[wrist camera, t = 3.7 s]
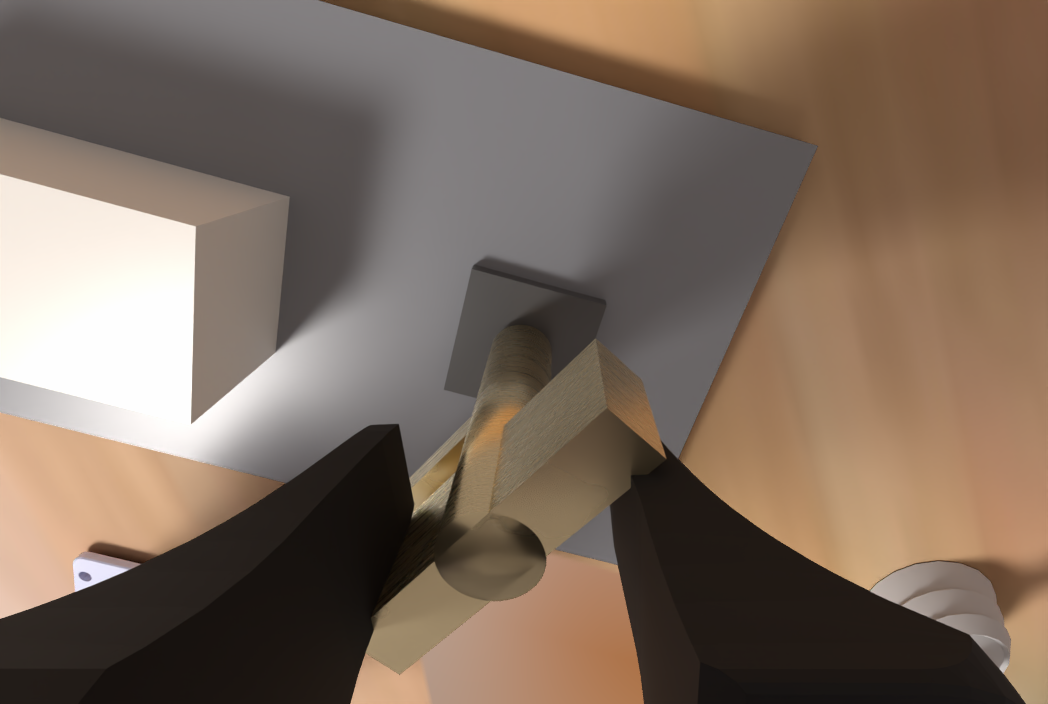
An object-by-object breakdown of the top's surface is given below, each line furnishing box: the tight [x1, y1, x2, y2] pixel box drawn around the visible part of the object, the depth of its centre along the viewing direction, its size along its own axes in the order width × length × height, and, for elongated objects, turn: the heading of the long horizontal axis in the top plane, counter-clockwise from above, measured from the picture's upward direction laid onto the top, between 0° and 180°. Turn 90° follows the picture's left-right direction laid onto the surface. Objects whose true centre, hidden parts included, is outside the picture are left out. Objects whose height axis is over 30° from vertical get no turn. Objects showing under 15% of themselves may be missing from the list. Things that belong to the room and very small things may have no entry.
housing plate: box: [0, 0, 818, 565], centre depth 17 cm, size 15×24×2 cm, turn 75°
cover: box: [0, 118, 290, 425], centre depth 15 cm, size 5×10×4 cm, turn 75°
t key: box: [366, 325, 666, 675], centre depth 14 cm, size 2×12×8 cm, turn 138°
